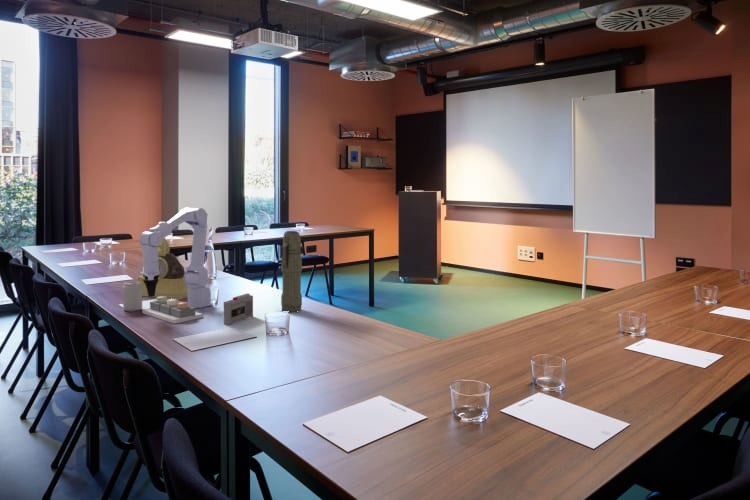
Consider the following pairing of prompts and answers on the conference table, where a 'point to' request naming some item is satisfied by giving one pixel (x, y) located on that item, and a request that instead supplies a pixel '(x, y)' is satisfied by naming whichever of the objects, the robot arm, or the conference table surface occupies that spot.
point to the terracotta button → (182, 305)
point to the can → (132, 296)
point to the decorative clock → (168, 275)
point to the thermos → (291, 272)
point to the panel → (171, 312)
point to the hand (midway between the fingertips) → (151, 294)
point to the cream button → (172, 302)
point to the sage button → (161, 299)
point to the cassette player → (238, 309)
